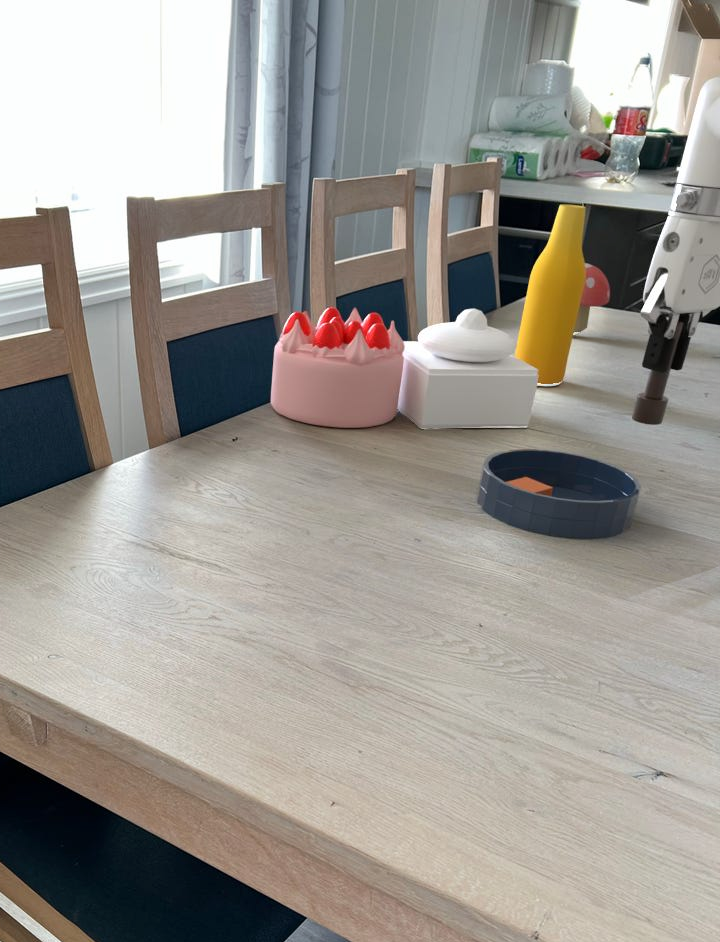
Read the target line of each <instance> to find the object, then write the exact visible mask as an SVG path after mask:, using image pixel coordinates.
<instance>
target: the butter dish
mask: <svg viewBox="0 0 720 942" xmlns="http://www.w3.org/2000/svg"><path fill="white" fill-rule="evenodd" d="M403 343H404V346H405V349H404V352H403V356H404V364H403V371H402V378H401V386H400V393H399V400H398V407H397V409H399V410H400V411H401V412H402V413H403V414H404V415H405V416H407V417H408V418H409V419H410V420H412V421H413V422H414V423H415V424H416V425H417V426H419V427H420V428H459V427H460V428H461V427H481V426H482V427H483V426H527V427H528V426H529V425H530V420H531V415H532V411H533V406H534V402H535V396H536V393H537V388H538V387H537V383H538V378H539V375H537V374H538V369H536V368H534V367H533V366H531V365H529V364H527V363H525V362H524V361H522V360H520V359H518V358H516V357H515V355H513V354H514V353H515V351H516V346H517V342H515V340H514V339H513V337H511V336H510V335H509V334H508V333H506V332H504V331H502V330H500V329H498V328H495V327H492V326H489V325H488V319H487V317H486V315H485V314H484V313H483V311H482V310H480V309H477V308H467V309H464V310H463V311H461V312H460V314H458V315H457V317H456V319H455V321H451V322H450V321H449V322H442V323H436V324H433V325H429V326H427V327H426V328H423V329H422V330H421V331H420V332H419V333H418V336H417V340H416V341H415V340H414V341H412V340H411V341H410V340H406V341H405V340H403ZM401 412H400V413H401ZM402 413H401V414H402ZM403 414H402V415H403ZM404 415H403V416H404ZM405 416H404V417H405ZM408 418H407V419H408ZM409 419H408V420H409ZM410 420H409V421H410ZM415 424H414V425H415ZM416 425H415V426H416ZM417 426H416V427H417Z"/></svg>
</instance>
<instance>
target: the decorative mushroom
mask: <svg viewBox="0 0 720 942" xmlns="http://www.w3.org/2000/svg"><path fill="white" fill-rule="evenodd" d="M585 269H586V277H585V285H584V289H583V293H582V297H581V302H580V306H579V311H578V315H577V320H576V324H575V328H574V332H580V333H582V332H583V331H585V330H587V328H588V324H589V318H590V317H589V316H590V310H591V307H603V306H605V305H606V304H608V303H609V302H610V298H611V288H610V283H609V281H608V278H607V276H606V274H604V273H603V271H602V270H601V269H600V268H598V267H597V266H595V265H593V264H590V263H586V262H585ZM581 331H582V332H581Z"/></svg>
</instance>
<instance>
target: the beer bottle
mask: <svg viewBox="0 0 720 942" xmlns="http://www.w3.org/2000/svg"><path fill="white" fill-rule="evenodd" d="M585 219H586V206H583V205H578V204H577V205H576V204H560V205H559V207H558V210H557V213H556V216H555V219H554V223H553V226H552V228H551V232H550V235H549V239H548V240H547V241H548V242H547V244H546V245H545V247H544V249H543V251H542V252H541V253H540V255H539V256H538V258H537V259H536V261H535V263H534V265H533V267H532V270H531V273H530V275H529V281H528V286H527V291H526V296H525V300H524V307H523V311H522V316H521V322H520V327H519V332H518V336H517V342H516V349H515V351H514V356H515V357H516V358H518V359H520V360H522V361H524V362H525V363H527V364H529V365H531V366H533V367H534V368H536V369H538V374H537V375H539V378H538V383H541V384H553V383H559V382H561V381H562V382H563V381H564V378H565V375H566V370H567V366H568V365H567V364H568V361H569V360H568V359H569V354H570V350H571V345H572V341H573V337H574V336H573V333H574V328H575V324H576V320H577V315H578V311H579V306H580V302H581V297H582V293H583V289H584V285H585V277H586V269H585V263H586V261H585V258H584V253H583V237H584V236H583V235H584V227H585V226H584V225H585Z"/></svg>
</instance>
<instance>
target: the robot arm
mask: <svg viewBox="0 0 720 942" xmlns="http://www.w3.org/2000/svg"><path fill="white" fill-rule="evenodd" d="M686 139H687V140H686V143H685V146H684V151H683V153H682V154H683V155H682V158H681V162H680V166H679V171H678V174H677V178H676V183H675V185H674V188H673V189H674V190H673V194H672V197H671V201H670V205H669V207H668V208H669V209H668V213H667V215H668V216H667V218H666V221H665V223H664V226H663V228H662V230H661V233H660V236H659V238H658V241H657V244H656V247H655V250H654V253H653V255H652V259H651V262H650V266H649V269H648V272H647V277H646V281H645V284H644V289H643V293H642V294H643V295H642V301H643V304H644V305H643V307H642V309H641V311H640V316H641V317H642V318H643V319H644V320H645V321H647V323H648V329H647V334H649V336H648V339H647V343H646V348H645V351H644V355H643V359H642V363H641V367H642V368H643V369H648V370H650V371H651V370H654V371H657V372H660V373H664V372H666V371H667V370H668V366H669V362H670V359H671V355H672V352H673V348H674V345H675V341H676V339H674V338H672V337H673V335H674V332H675V329H676V325H677V322H678V321H680V322H682V323H683V327H682V331H681V334H680V338H679V341H678V345H677V349H676V352H675V356H674V359H673V363H672V366H671V370H672V371H673V370H674V371H681V370H682V369H683V367H684V363H685V359H686V356H687V353H688V349H689V347H690V342H691V339H692V337H693V336H694V335H695V334H696V331H697V328H698V324H699V323H700V322H701V320H702V319H703V318H704V317H705V316H707V315H708V314H709V313H710V312H711V311H712V310H716V309H717V308H719V307H720V76H717V77H716V76H715V77H713V78H710V79H708V80H707V81H705V83H704V84H703V85H702V87H701V88H700V91H699V93H698V97H697V99H696V105H695V107H694V112H693V116H692V119H691V124H690V127H689V131H688V134H687V138H686ZM667 316H668V318H667ZM667 320H668V321H667Z"/></svg>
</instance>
